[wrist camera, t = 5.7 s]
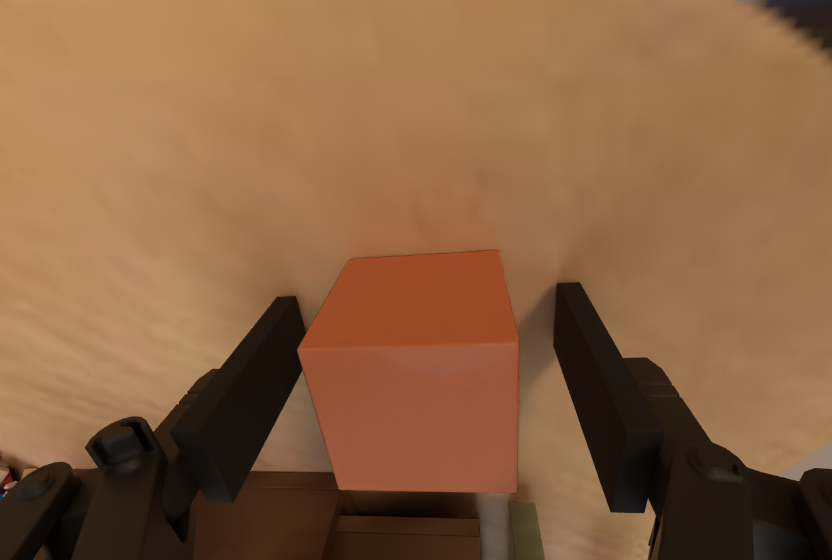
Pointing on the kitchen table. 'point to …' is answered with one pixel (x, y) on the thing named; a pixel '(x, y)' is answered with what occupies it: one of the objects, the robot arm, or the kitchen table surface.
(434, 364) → the block
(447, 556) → the drawer
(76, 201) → the kitchen table surface
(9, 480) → the woven mat
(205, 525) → the cabinet
